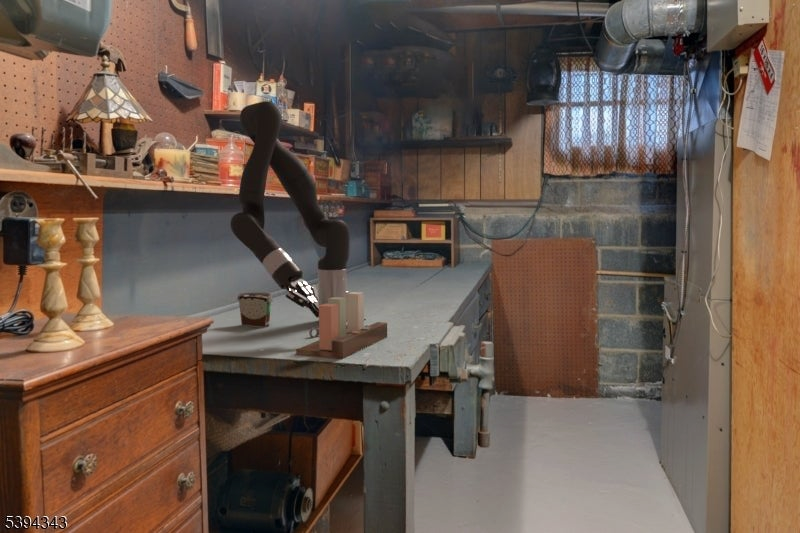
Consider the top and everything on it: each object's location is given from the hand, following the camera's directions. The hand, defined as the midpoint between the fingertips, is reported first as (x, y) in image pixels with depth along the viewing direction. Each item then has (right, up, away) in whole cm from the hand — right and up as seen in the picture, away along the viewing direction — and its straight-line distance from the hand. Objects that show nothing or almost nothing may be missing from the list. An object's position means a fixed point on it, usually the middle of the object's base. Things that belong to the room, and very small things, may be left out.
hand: (320, 315), depth 163 cm
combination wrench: (+4, -7, +14) cm, 16 cm away
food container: (-23, -6, +28) cm, 36 cm away
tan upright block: (+9, -5, +9) cm, 14 cm away
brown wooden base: (+7, -8, -2) cm, 10 cm away
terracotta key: (+4, -7, -12) cm, 15 cm away
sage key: (+5, -6, -1) cm, 8 cm away
